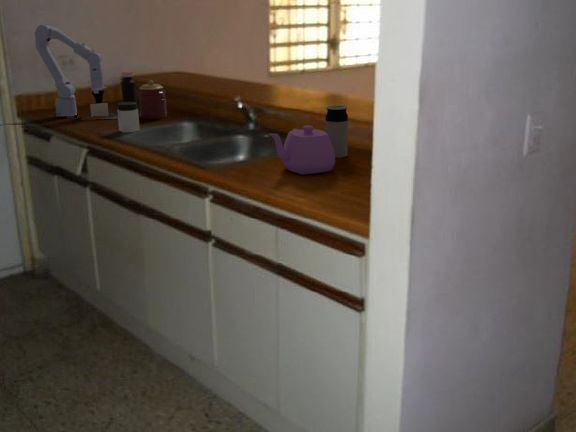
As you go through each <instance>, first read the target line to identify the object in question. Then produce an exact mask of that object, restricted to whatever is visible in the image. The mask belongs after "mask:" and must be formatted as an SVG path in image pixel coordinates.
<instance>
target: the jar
mask: <svg viewBox="0 0 576 432" xmlns="http://www.w3.org/2000/svg"><path fill="white" fill-rule="evenodd" d="M117 113H118V119H117V122H118V123H117V124H118V130H119V131H120V132H121V133H123V134H124V133H135V132H139V131H140V129H141V128H140V120H139V119H140V117H139V116H140V114H139V109H138V102H137V103H136V102H123V101H122V102H118V103H117Z"/></svg>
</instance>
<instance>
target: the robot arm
mask: <svg viewBox="0 0 576 432" xmlns="http://www.w3.org/2000/svg"><path fill="white" fill-rule="evenodd" d="M34 39H35V48H36V50H37V52H38V54H39V55H40V57H41V59H42V61H43V62H44V64H45V66H46V68H47V69H48V72H49V73H50V75H51V76H52V78H53V80H54V83H55V84H54V85H55V88H56V90H57V95H58V96H59V98H56V99H55V101H54V105H55V112H56V113H55V114H56V117H57V116H74V115H77V113H78V110H77V100H76V95H75V93H76V91H77V89H76V86H75V84H73V83H72V82H71V81H70V79H68V78H67V77H66V76H65V73H64V72H63V71H62V69H61V67H60V65H59V64H58V62H57V60H56V58H55V56H54V55H53V53H52V50H51V49H50V48H49V45H50V42H51V40H58V41H60V42H61V43H63V44H65V45H66V46H68V47H70V48H72V49H73V52H74V54H76V55H78V56H79V57H81V58H82V59H84V61H85V60H86V62H87V63H88V65H89V76H90V84H91V85H90V86H91V88H90V89H91V95H92V96H93V98H94V100H95V104H100V103H103V101H104V100H103V98H104V94H105V89H107V86H105V85H104V77H103V68H102V61H103V57H102V55H101V53H100V52H99V51H95V49H93V48H90V47H89V46H87V45H86V42H80V41H79V42H76V41H75V40H74V39H72V38H71V37H69V36H68V35H67V34H65V32H63V31H61V30H60V29H58V27H56V26H53V24H50V23H47V24H42V25H41V24H40V25H38V26H36V28H35V30H34Z"/></svg>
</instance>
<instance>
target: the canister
mask: <svg viewBox="0 0 576 432" xmlns="http://www.w3.org/2000/svg"><path fill="white" fill-rule="evenodd" d="M138 90H139V91H138V92H137V94H138V96H139V98H138V100H137V101H138V105H139V107H138V108H139V116H140V117H139V118H141V119H143V120H159V119H163V118H166V117H167V116H168V111H167V97H166V95H165V94H166V90H164V86H162V85H161V84H160V83H155V82H154V81H153V80H152V79H150V80H148V82H147V83H146V84H142V85H141V86H140V87H139V89H138Z"/></svg>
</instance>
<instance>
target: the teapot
mask: <svg viewBox="0 0 576 432" xmlns="http://www.w3.org/2000/svg"><path fill="white" fill-rule="evenodd" d="M267 135H269V136H270V137H272V139H273V140H274V143H275V149H276V154H277V156H278V157H279V158H280V159H281V160H282V163H283V164H284V167H285V168H286V169H287V170H288V171H289V172H290V171H291V172H292V173H296V174H299V175H301V176H307V175H309V174H311V175H312V174H318V173H319V174H320V173H327V172H331V171H332V170H333V168H334V166H335V164H336V158H335V154H334V149H333V146H332V143H331V141H330V138H329V136H328V134H327V133H326V131H324V130H321V129H318V128H317V129H316V128H314V125H309V124H308V125H303V126H302V129H298V128H293V129H292V130H290V131H289V132H288V134H287V136H286V139H285V142H284V144H283V142H282V139H281V136H280V135H279V134H277V133H268V134H267Z"/></svg>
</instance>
